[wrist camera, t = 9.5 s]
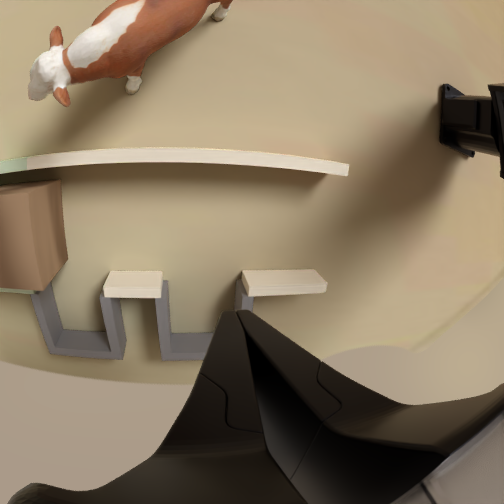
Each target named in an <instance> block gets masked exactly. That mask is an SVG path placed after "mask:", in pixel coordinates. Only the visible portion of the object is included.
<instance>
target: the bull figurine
mask: <svg viewBox="0 0 504 504" xmlns="http://www.w3.org/2000/svg"><path fill="white" fill-rule="evenodd" d="M232 1H233V0H117V1H116V2H114V3H113V4H111V5H110V6H109V7H107V8H106V9H105V10H104V11H103V12H102V13H101V14H100V15H99V16H98V17H97V18H96V19H95V21H94V22H93V24H92V26H91V27H90V28H88V29H87V30H85V31H84V32H82V33H81V34H80V35H79V36H78V37H77V38H76V39H75V40H74V41H73V42H72V43H71V44H70V45H69V46H68V47H67V48H66V49H64V48H63V37H62V33H61V29H60V27H59V26H55V27H54V28H53V30H52V31H51V33H50V50H49V51H46V52H43V53H42V54H41V55H40V56H39V57H38V58H37V59H36V60H35V61H34V63H33V65H32V68H31V70H30V83H29V85H28V96H29V99H31V100H35V101H39V100H42V99H44V98H46V97H47V95H48V94H51V93H53V96H54V97H55V98H56V100H57V101H58V102H59V103H61V104H62V105H63V106H65V107H69V105H70V98H69V94H68V92H67V89H66V86H68V85H75V84H80V83H84V82H88V81H93V80H97V79H100V78H104V77H110V78H121V77H124V76H126V75H127V77H128V82H127V84H126V86H125V90H126V92H127V93H128V94H134V93H136V92H137V91H138V90H139V85H140V84H141V83H142V79H141V78H140V76H141V74H142V69H143V67H144V64H145V61H146V60H147V58H148V56H149V55H151V54H152V53H154V52H155V51H157V50H159V49H160V48H162V47H163V46H165V45H166V44H168V43H170V42H172V41H174V40H176V39H178V38H179V37H181V36H182V35H184V34H185V33H187V32H188V31H190V30H191V29H192V28H193V27H194V26H195V25H196V24H197V23H198V22H199V20H200V19H201V18H202V16H203V15H204V13H205V11H206V9H207V7H208V6H209V5H210V4H212V3H216V2H221V3H220V5H219V7H218V8H217V9H216V10H215V11H214V12H213V14H212V18H213V19H215V20H216V21H221V20H223V19H224V18H225V17H226V16H227V11H229V10H230V3H231V2H232Z"/></svg>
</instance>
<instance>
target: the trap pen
mask: <svg viewBox="0 0 504 504" xmlns="http://www.w3.org/2000/svg"><path fill="white" fill-rule="evenodd" d="M128 162H191V163H218V164H237V165H251V166H264V167H276V168H286V169H296V170H305V171H313V172H321V173H329V174H336V175H343V176H348V170H349V165H348V164H344V163H339V162H335V161H329V160H323V159H316V158H309V157H302V156H294V155H285V154H276V153H266V152H256V151H244V150H229V149H211V148H183V147H138V148H110V149H93V150H80V151H69V152H59V153H50V154H42V155H34V156H27V157H21V158H15V159H9V160H3V161H0V174H2V173H9V172H16V171H23V170H31V169H40V168H49V167H59V166H71V165H85V164H102V163H128ZM327 284H328V283H327V282H326V281H325V280H324V279H323V278H322V277H321V276H320V275H319V274H318V273H317V271H316V270H315V269H296V270H242V280H236V292H235V305H234V311H236V310H243V309H248V310H250V311H251V312H252V310H253V301H254V296H274V295H294V294H311V293H325V292H326V288H327ZM0 292H11V293H25V294H30V296H31V299H32V303H33V306H34V309H35V313H36V316H37V319H38V322H39V325H40V328H41V331H42V334H43V336H44V339H45V342H46V344H47V347H48V350H49V352H50V354H56V355H65V356H75V357H87V358H100V359H118V360H123V356H124V351H125V346H126V341H127V339H126V334H125V329H124V324H123V318H122V312H121V306H120V300H119V298H155V304H156V314H157V324H158V333H159V342H160V350H161V357H162V361H174V360H204V357H205V355H206V352H207V349H208V347H209V344H210V341H211V338H212V336H213V333H214V332H210V333H171V323H170V309H169V292H168V281H163V276H162V271H110V273H109V275H108V277H107V279H106V282H105V284H104V286H103V290H102V292H101V295H100V297H99V298H100V303H101V308H102V313H103V318H104V323H105V327H106V331H107V332H94V331H78V330H65V329H63V327H62V323H61V320H60V316H59V313H58V309H57V305H56V302H55V298H54V294H53V289H52V285H51V281H50V283H49V284H48V285H47V287H46V288H45V289H44V291H37V290H22V289H8V288H0Z"/></svg>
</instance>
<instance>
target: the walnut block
mask: <svg viewBox="0 0 504 504" xmlns="http://www.w3.org/2000/svg"><path fill="white" fill-rule="evenodd" d="M67 260H68V254H67V247H66V239H65V230H64V220H63V208H62V191H61V179H58V180H45V181H34V182H24V183H15V184H7V185H0V288H8V289H22V290H37V291H44V289H45V288H46V287H47V285H48V284H49V283H50V281H51V280H52V279H53V277H54V276H55V275H56V274H57V272H58V271H59V270H60V269H61V267H62V266H63V265H64V264H65V262H66V261H67Z"/></svg>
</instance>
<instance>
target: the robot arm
mask: <svg viewBox="0 0 504 504" xmlns="http://www.w3.org/2000/svg"><path fill="white" fill-rule="evenodd" d="M488 89H489V91H490V94H491V97H487V96H467V95H464V94H463V93H461V92H460V91H458V90H457V89H455V88H454V87H452V86H451V85H449V84H443V86H442V113H441V127H440V143H441V144H442V145H444V146H447V147H449V148H451V149H454V150H456V151H458V152H460V153H462V154H464V155H467V156H469V157H472V158H473V157H474V155H475V151H477V152H481V153H486V154H490V155H494V156H498V157H500V167H501V171H500V177H501V178H503V179H504V83H502V84H490V85H488ZM8 504H504V383H503V384H501V385H499V386H498V387H497V388H496V389H494V390H493V391H491V392H489V393H486V394H483V395H480V396H476V397H471V398H466V399H461V400H454V401H448V402H440V403H432V404H423V405H407V404H401V403H398V402H396V401H394V400H391V399H389V398H387V397H385V396H383V395H381V394H379V393H377V392H375V391H373V390H371V389H369V388H367V387H365V386H363V385H361V384H359V383H357V382H355V381H353V380H351V379H350V378H348V377H346V376H344V375H343V374H341V373H340V372H338V371H336V370H334V369H333V368H332V367H330V366H328V365H327V364H326V363H324V362H321V361H320V360H319V359H318V358H316V357H315V356H313V355H312V354H311V353H309V352H308V351H306V350H305V349H303V348H302V347H300V346H299V345H297V344H296V343H295V342H293V341H292V340H290V339H289V338H287V337H286V336H285V335H283V334H282V333H280V332H279V331H278V330H276V329H275V328H273V327H272V326H271V325H269V324H268V323H266V322H265V321H264V320H262V319H261V318H259V317H258V316H257V315H255V314H254V313H253V312H251V311H250V310H248V309H243V310H236V311H234V310H223V311H222V312H221V314H220V317H219V320H218V322H217V325H216V328H215V330H214V333H213V336H212V338H211V341H210V344H209V347H208V349H207V352H206V355H205V357H204V360H203V363H202V366H201V368H200V371H199V374H198V376H197V379H196V381H195V384H194V386H193V389H192V391H191V393H190V396H189V398H188V399H187V401H186V403H185V405H184V407H183V409H182V411H181V412H180V414H179V416H178V417H177V419H176V420H175V422H174V424H173V425H172V427H171V429H170V430H169V432H168V434H167V436H166V437H165V439H164V440H163V442H162V443H161V445H160V446H159V448H158V449H157V450H156V452H155V453H154V454H153V455H152V456H151V457H150V458H148V459H147V460H145V461H144V462H142V463H141V464H139V465H138V466H136V467H135V468H133V469H131V470H130V471H128V472H126V473H125V474H123V475H121V476H120V477H118V478H116V479H115V480H113V481H111V482H110V483H108V484H106V485H104V486H102V487H99V488H97V489H93V490H88V491H72V490H66V489H62V488H58V487H54V486H50V485H47V484H41V483H30V484H29V485H27V486H26V487H24V488H23V489H21V490H19V491H18V492H17V493H16V494H15V495H13V496H12V498H11V499H10V500H9V502H8Z"/></svg>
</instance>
